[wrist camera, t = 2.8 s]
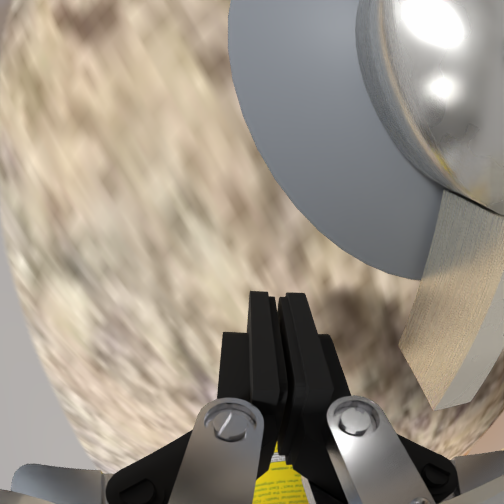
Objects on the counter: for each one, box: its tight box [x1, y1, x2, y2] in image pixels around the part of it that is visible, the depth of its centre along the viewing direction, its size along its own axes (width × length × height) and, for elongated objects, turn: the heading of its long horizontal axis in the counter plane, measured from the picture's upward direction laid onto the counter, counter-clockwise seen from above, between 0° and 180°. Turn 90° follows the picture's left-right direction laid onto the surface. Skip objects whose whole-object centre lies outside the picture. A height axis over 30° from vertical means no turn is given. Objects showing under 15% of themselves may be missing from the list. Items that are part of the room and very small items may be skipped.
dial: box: [355, 0, 504, 411], centre depth 7 cm, size 17×10×4 cm, turn 176°
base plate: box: [228, 0, 452, 280], centre depth 9 cm, size 18×18×2 cm
